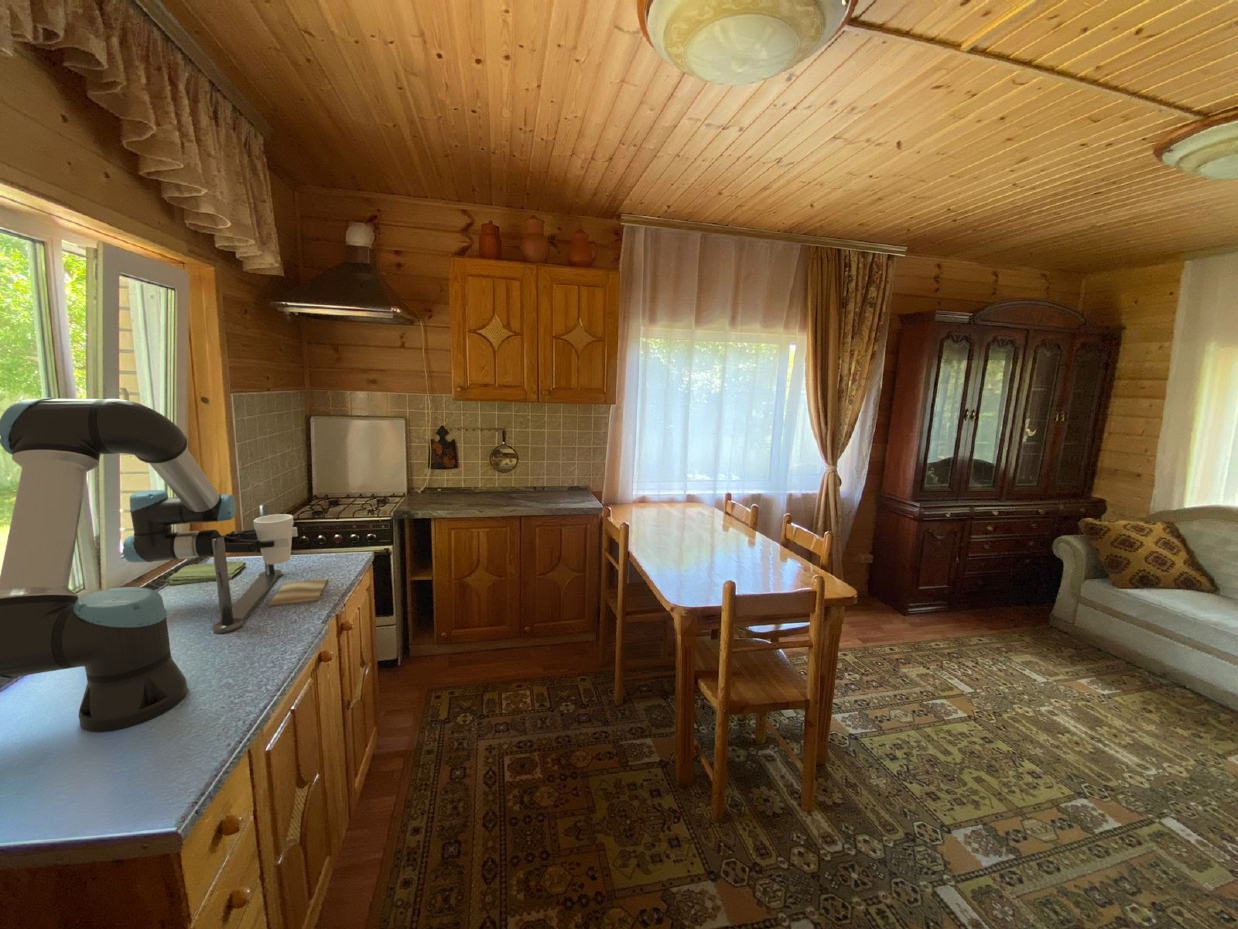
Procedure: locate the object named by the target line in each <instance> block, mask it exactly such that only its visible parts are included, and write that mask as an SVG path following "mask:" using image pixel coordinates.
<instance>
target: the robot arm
mask: <svg viewBox="0 0 1238 929" xmlns="http://www.w3.org/2000/svg"><path fill="white" fill-rule="evenodd" d="M188 443H189V442H188V438H187V437H186V435H185V434H184V432H183V431H182V430H181V428H180V427H179V426H177V425H176V424H175V423H174V422H173V421H171V419H169V418H168V417H166V415H163V414H162V413H160V412H158V411H157V410H155V409H153V408H150V407H148V406H146V405H144V404H141V403H138V402H135V401H132V400H128V399H127V400H126V399H119V398H105V399H104V398H55V397H43V398H33V399H32V398H29V399H23V400H20V401H17V402H15V403H13V404H11V405H9V406H8V408H6V409H5V411H4V412H3V413H2V415H1V417H0V446H1V447H2V449H3V450H4V451H5V452H7V453H8V454H9V455H11V460H12V461H13V462H14V463H16V464H17V465H18V466H20V467H21V471H20V477H19V482H18V487H17V491H16V496H15V501H14V506H13V511H12V516H11V519H10V520H11V521H10V526H9V532H8V536H7V540H6V546H5V550H4V555H3V562H2V565H1V571H0V680H7V679H11V680H12V679H15V678H17V677H22V676H30V675H36V674H41V673H49V672H54V671H56V672H57V671H60V670H61V671H62V670H68V669H73V668H74V669H75V668H81V667H82V668H83V667H84V670H85V674H86V681H87V682H86V687H85V689H84V693H83V697H82V699H81V704H80V705H79V706H80V707H79V708H78V719H79V724H80V727H81V728H82V730H84V731H88V732H99V733H100V732H109V731H115V730H121V729H124V728H129V727H132V726H135V725H138V724H141V723H143V722H146V721H149V720H151V719H153V718H155V717H157V716H159V715H162V714H165V712H167V711H169V710H171V709H172V708H173V707H175V706H176V705H178V704H179V703H180V702H181V701H183V699H184V698H185V697H186V695H187V694H188V685H187V684H188V683H187V682H188V681H187V678H186V676H185V675H184V674H183V672H182V670H180V668H179V666H178V665H177V663H176V662H175V661H174V659H173V658H172V652H171V645H170V637H169V631H168V630H169V628H168V622H167V609H166V607H165V605H164V604H165V603H164V600H163V596H162V595H161V594H160V593H159V592H157V591H156V590H154V589H151V588H148V587H140V586H124V587H123V586H122V587H114V588H113V587H112V588H111V587H110V588H107V589H106V590H97V591H92V592H90V593H88V594H86V595H82V596H81V597H79V595H78V594H77V593H76V592H74V591H73V590H71V588H69V586H70V579H71V574H72V568H73V560H74V554H75V548H76V543H77V542H76V541H77V537H78V536H77V535H78V530H79V524H80V517H81V511H82V510H81V509H82V504H83V497H84V492H85V491H84V490H85V486H86V479H87V474H88V472H89V471H92V470H94V469H96V468H97V467H98V466H99V464H100V458H101V455H110V454H111V455H115V454H125V455H126V454H128V455H134V456H135V457H136V458H137V459H138V460H139V461H141V462H143V463H146V464H149V465H150V466H151V467H152V469H153V470H154V471H155V472H156V473H157V475H158V476H159V477H160V478H161V479H162V480H163V482H164V483H165V484H166V485H167V486H168V488H169V489H171V491H172V492H173V494H174V495H175V496H173V497H169V495H168V493H167V491H166V490H163V489H150V490H149V489H148V490H142V491H137V492H134V493H133V494H131V495H130V496H129V513H130V517H131V523H132V526H133V527H132V528H133V535H130V536H128V537H126V538H125V540H124V541H123V545H122V546H123V548H122V554H123V557H124V558H125V560H126V561H127V562H130V563H133V564H134V563H153V562H160V561H161V562H162V561H172V560H182V559H183V560H184V559H186V561H190V560H192V559H195V558H198V557H200V558H207V557H208V558H210V557H214V555H213V547H212V539H213V538H218V537H224V543H225V552H226V554H228V553H229V554H231V553H234V554H235V553H255V552H256V553H257V554H258V553H262V552H261V548H262V549H267V548H278V547H289V537H280V538H268V539H261V542H260V540H258V538H257V534H256V530H255V529H254V528H253V529H246V530H233V531H231V532H228V533H226V534H225V535H221V534H220V532H219V531H218V530H217V529H202V530H200V531H199V530H189V531H176V532H174V531H173V525H186V524H199V523H200V524H201V523H214V522H215V523H219V522H225V521H230V520H233V519H234V518H235V516H236V514H237V513H236V512H237V501H236V498H235V496H233V495H232V494H229V493H228V494H226V493H221V494H219V493H218V491H217V490H216V488H215V487H214V486H213V484H212V482H211V481H210V480H209V478H208V477H207V476H206V474H205V472H204V471H203V469H202V468H201V466H200V465H199V464H198V462H197V461H196V460H195V457H194V456H193V455H192V454H191V452H190V451H189V449H188V445H189V444H188ZM298 536H299V533H298V527H297V526H296V527H295V526H293V528H292V538H294V537H298Z"/></svg>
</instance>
